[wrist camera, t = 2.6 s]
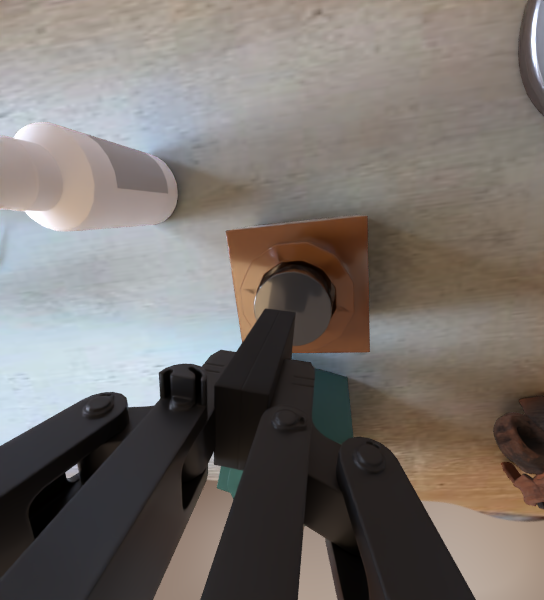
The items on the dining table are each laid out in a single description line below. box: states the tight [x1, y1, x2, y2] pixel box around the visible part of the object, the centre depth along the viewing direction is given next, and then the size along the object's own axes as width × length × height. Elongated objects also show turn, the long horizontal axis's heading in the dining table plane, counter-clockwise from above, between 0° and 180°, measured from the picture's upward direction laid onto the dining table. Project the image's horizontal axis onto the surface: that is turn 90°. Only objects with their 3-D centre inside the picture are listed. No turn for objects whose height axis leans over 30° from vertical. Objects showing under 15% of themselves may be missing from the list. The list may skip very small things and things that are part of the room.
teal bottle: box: [217, 368, 353, 526], centre depth 28 cm, size 10×9×12 cm
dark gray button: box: [254, 265, 332, 346], centre depth 19 cm, size 5×5×2 cm
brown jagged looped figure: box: [493, 396, 544, 509], centre depth 27 cm, size 12×10×8 cm
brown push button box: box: [226, 214, 370, 353], centre depth 24 cm, size 10×10×10 cm
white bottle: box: [0, 122, 178, 231], centre depth 21 cm, size 7×7×18 cm
